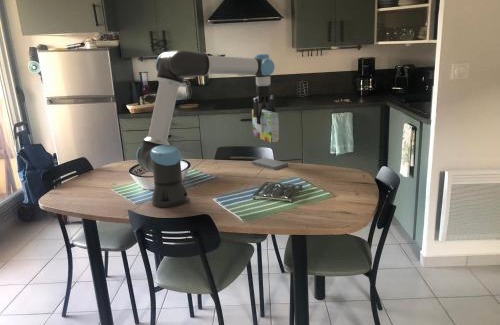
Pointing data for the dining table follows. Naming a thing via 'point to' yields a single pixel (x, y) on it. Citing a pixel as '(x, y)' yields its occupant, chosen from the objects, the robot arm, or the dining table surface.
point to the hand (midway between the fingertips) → (265, 128)
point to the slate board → (269, 163)
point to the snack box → (267, 127)
